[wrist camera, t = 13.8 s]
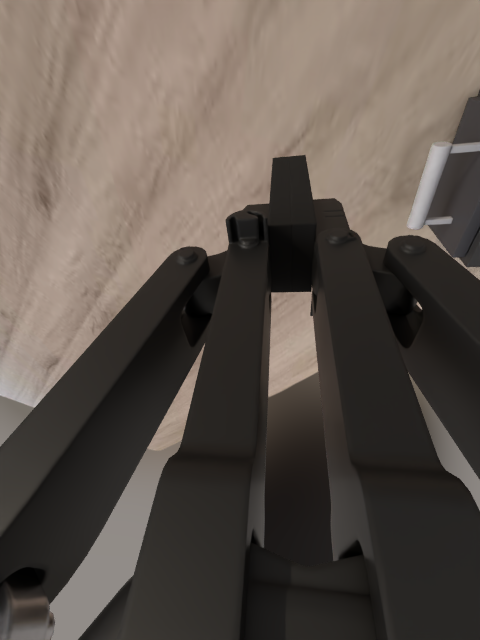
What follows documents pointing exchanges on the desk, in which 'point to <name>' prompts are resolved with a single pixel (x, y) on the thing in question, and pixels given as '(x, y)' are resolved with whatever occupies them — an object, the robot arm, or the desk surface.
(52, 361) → the desk surface
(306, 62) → the desk surface
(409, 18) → the desk surface
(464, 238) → the drawer
